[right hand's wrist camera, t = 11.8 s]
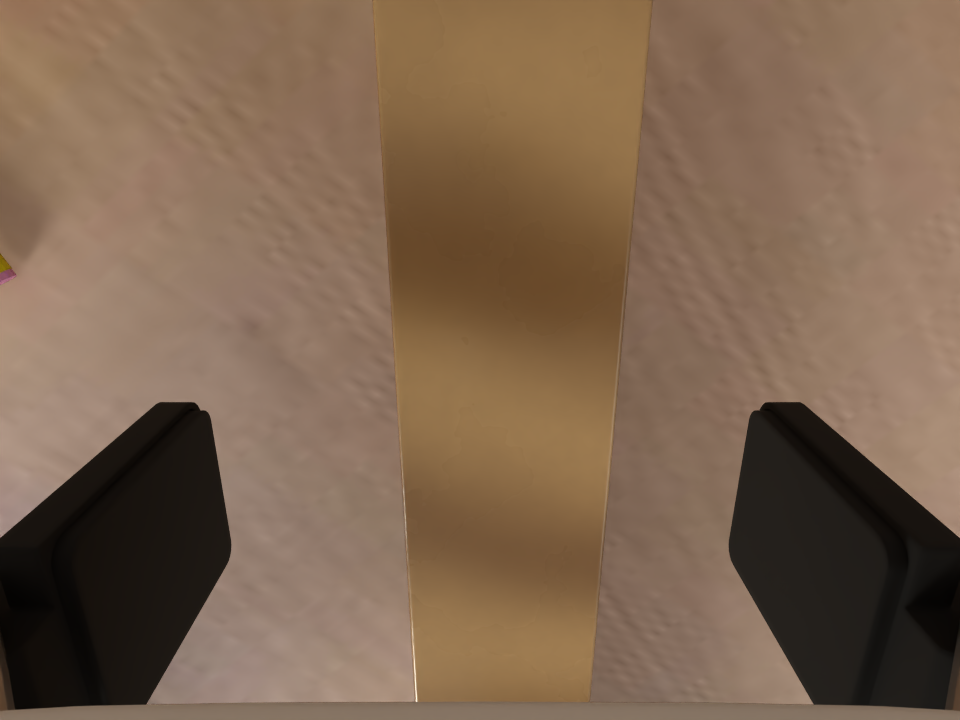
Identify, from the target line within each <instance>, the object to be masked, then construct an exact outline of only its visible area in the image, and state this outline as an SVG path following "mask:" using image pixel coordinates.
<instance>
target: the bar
mask: <svg viewBox="0 0 960 720" xmlns="http://www.w3.org/2000/svg"><path fill="white" fill-rule="evenodd" d="M372 1H373V17H374V34H375V50H376V67H377V83H378V100H379V116H380V133H381V149H382V166H383V182H384V199H385V215H386V232H387V248H388V265H389V281H390V298H391V314H392V331H393V347H394V364H395V380H396V397H397V413H398V430H399V446H400V463H401V479H402V496H403V512H404V529H405V545H406V562H407V578H408V595H409V611H410V628H411V644H412V661H413V677H414V694H415V702H590V694H591V683H592V672H593V661H594V649H595V638H596V627H597V616H598V605H599V594H600V583H601V571H602V560H603V549H604V538H605V527H606V516H607V505H608V493H609V482H610V471H611V460H612V449H613V438H614V426H615V415H616V404H617V393H618V382H619V371H620V360H621V348H622V337H623V326H624V315H625V304H626V293H627V282H628V270H629V259H630V248H631V237H632V226H633V215H634V203H635V192H636V181H637V170H638V159H639V148H640V137H641V125H642V114H643V103H644V92H645V81H646V70H647V59H648V47H649V36H650V25H651V14H652V3H653V0H372Z"/></svg>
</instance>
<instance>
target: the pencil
mask: <svg viewBox="0 0 960 720" xmlns="http://www.w3.org/2000/svg"><path fill="white" fill-rule="evenodd" d="M16 276H17V275H16V274H15V273H14V271H13V270H12V268H11V267H10V265H9V264H8V263H7V262H6V260H5V259H4V258H3V256H2V255H1V254H0V285H1V284H3V283H5V282H7V281H9V280H11V279H13V278H14V277H16Z"/></svg>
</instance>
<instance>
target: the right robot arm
mask: <svg viewBox="0 0 960 720" xmlns="http://www.w3.org/2000/svg"><path fill="white" fill-rule="evenodd" d="M230 553H231V538H230V532H229V526H228V520H227V514H226V508H225V502H224V496H223V490H222V484H221V478H220V472H219V466H218V460H217V454H216V448H215V442H214V436H213V430H212V424H211V419H210V416H209V414H208V412H207V411H200V409H199V407H198V405H197V404H196V403H193V402H160V403H158V404H156V405H155V406H154V407H152V408H151V409H150V410H149V411H148V412H147V413H145V414H144V415H143V416H142V417H141V418H140V419H138V420H137V421H136V422H135V423H134V424H133V425H131V426H130V427H129V428H128V429H127V430H126V431H124V432H123V433H122V434H121V435H120V436H119V437H117V438H116V439H115V440H114V441H113V442H112V443H110V444H109V445H108V446H107V447H106V448H105V449H103V450H102V451H101V452H100V453H99V454H98V455H96V456H95V457H94V458H93V459H92V460H91V461H89V462H88V463H87V464H86V465H85V466H84V467H83V468H81V469H80V470H79V471H78V472H77V473H76V474H74V475H73V476H72V477H71V478H70V479H69V480H67V481H66V482H65V483H64V484H63V485H62V486H60V487H59V488H58V489H57V490H56V491H55V492H53V493H52V494H51V495H50V496H49V497H48V498H46V499H45V500H44V501H43V502H42V503H41V504H39V505H38V506H37V507H36V508H35V509H34V510H32V511H31V512H30V513H29V514H28V515H27V516H25V517H24V518H23V519H22V520H21V521H20V522H18V523H17V524H16V525H15V526H14V527H13V528H11V529H10V530H9V531H8V532H7V533H6V534H4V535H3V536H2V537H1V538H0V720H960V538H959V537H958V536H957V535H956V534H954V533H953V532H952V531H951V530H950V529H949V528H947V527H946V526H945V525H944V524H943V523H942V522H940V521H939V520H938V519H937V518H936V517H935V516H933V515H932V514H931V513H930V512H929V511H928V510H926V509H925V508H924V507H923V506H922V505H921V504H919V503H918V502H917V501H916V500H915V499H914V498H912V497H911V496H910V495H909V494H908V493H907V492H905V491H904V490H903V489H902V488H901V487H900V486H898V485H897V484H896V483H895V482H894V481H893V480H891V479H890V478H889V477H888V476H887V475H886V474H884V473H883V472H882V471H881V470H880V469H879V468H877V467H876V466H875V465H874V464H873V463H872V462H871V461H869V460H868V459H867V458H866V457H865V456H864V455H862V454H861V453H860V452H859V451H858V450H857V449H855V448H854V447H853V446H852V445H851V444H850V443H848V442H847V441H846V440H845V439H844V438H843V437H841V436H840V435H839V434H838V433H837V432H836V431H834V430H833V429H832V428H831V427H830V426H829V425H827V424H826V423H825V422H824V421H823V420H822V419H820V418H819V417H818V416H817V415H816V414H815V413H813V412H812V411H811V410H810V409H809V408H808V407H806V406H805V405H804V404H802V403H800V402H767V403H764V404H763V405H762V407H761V409H760V411H753V412H752V414H751V416H750V419H749V424H748V430H747V436H746V442H745V448H744V454H743V460H742V466H741V472H740V478H739V484H738V490H737V496H736V502H735V508H734V514H733V520H732V526H731V532H730V538H729V553H730V558H731V561H732V563H733V565H734V567H735V569H736V570H737V572H738V574H739V576H740V577H741V579H742V581H743V583H744V584H745V586H746V588H747V590H748V591H749V593H750V595H751V596H752V598H753V600H754V602H755V603H756V605H757V607H758V609H759V610H760V612H761V614H762V616H763V617H764V619H765V621H766V622H767V624H768V626H769V628H770V629H771V631H772V633H773V635H774V636H775V638H776V640H777V642H778V643H779V645H780V647H781V648H782V650H783V652H784V654H785V655H786V657H787V659H788V661H789V662H790V664H791V666H792V668H793V669H794V671H795V673H796V674H797V676H798V678H799V680H800V681H801V683H802V685H803V687H804V688H805V690H806V692H807V693H808V695H809V697H810V699H811V700H812V702H813V704H814V705H802V704H751V703H677V702H283V703H209V704H158V705H146V704H147V702H148V700H149V699H150V697H151V695H152V693H153V692H154V690H155V688H156V687H157V685H158V683H159V681H160V680H161V678H162V676H163V674H164V673H165V671H166V669H167V667H168V666H169V664H170V662H171V661H172V659H173V657H174V655H175V654H176V652H177V650H178V648H179V647H180V645H181V643H182V642H183V640H184V638H185V636H186V635H187V633H188V631H189V629H190V628H191V626H192V624H193V622H194V621H195V619H196V617H197V616H198V614H199V612H200V610H201V609H202V607H203V605H204V603H205V602H206V600H207V598H208V596H209V595H210V593H211V591H212V590H213V588H214V586H215V584H216V583H217V581H218V579H219V577H220V576H221V574H222V572H223V570H224V569H225V567H226V565H227V563H228V561H229V558H230Z"/></svg>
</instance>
